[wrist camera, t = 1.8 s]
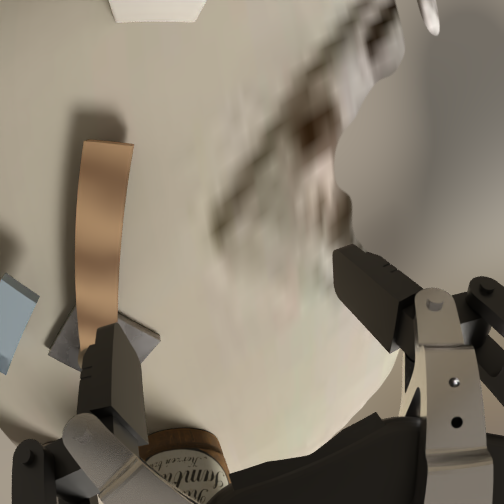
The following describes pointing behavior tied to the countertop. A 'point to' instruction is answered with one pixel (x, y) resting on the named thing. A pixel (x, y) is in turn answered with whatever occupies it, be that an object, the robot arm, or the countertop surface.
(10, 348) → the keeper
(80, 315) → the link
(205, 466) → the wooden container
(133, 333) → the pivot base
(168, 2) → the medicine bottle
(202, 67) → the countertop surface
